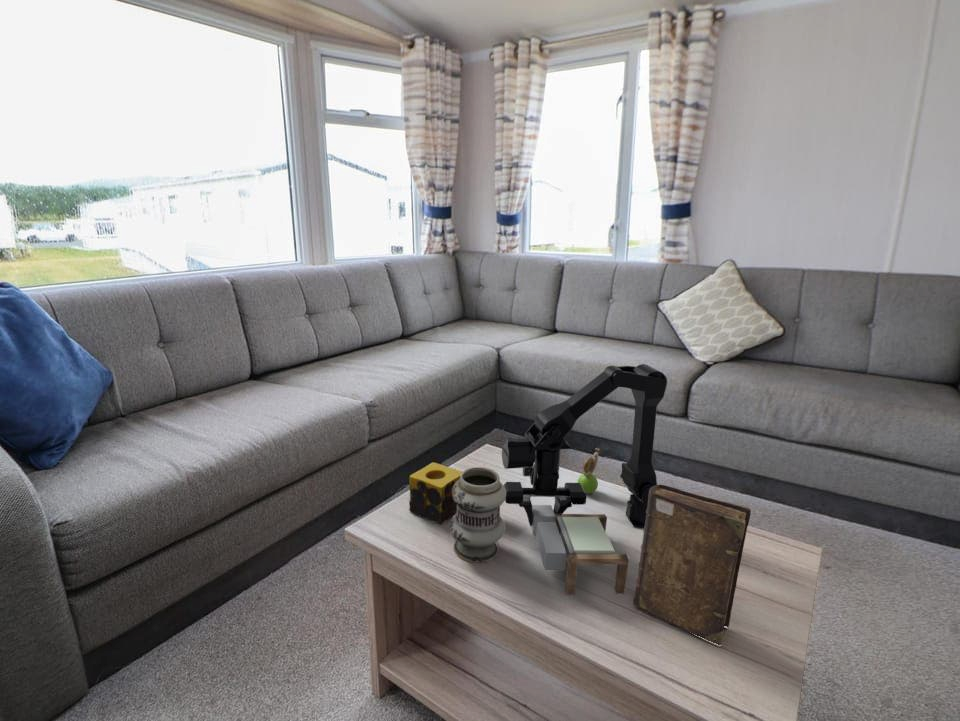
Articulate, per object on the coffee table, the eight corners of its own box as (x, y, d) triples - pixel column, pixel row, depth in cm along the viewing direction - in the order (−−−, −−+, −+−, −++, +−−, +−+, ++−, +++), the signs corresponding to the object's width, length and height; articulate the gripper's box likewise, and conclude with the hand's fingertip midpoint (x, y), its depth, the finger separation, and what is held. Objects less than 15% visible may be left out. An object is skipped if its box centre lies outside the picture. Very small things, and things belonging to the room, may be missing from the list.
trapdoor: (595, 536, 117) (597, 516, 115) (612, 572, 105) (614, 551, 103) (535, 536, 116) (537, 516, 114) (545, 572, 104) (547, 550, 103)
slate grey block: (549, 523, 128) (551, 505, 126) (553, 535, 123) (555, 516, 121) (529, 523, 127) (530, 504, 126) (532, 535, 122) (534, 516, 121)
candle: (465, 508, 132) (466, 472, 130) (441, 526, 124) (442, 488, 122) (433, 495, 138) (433, 460, 135) (408, 512, 129) (408, 475, 127)
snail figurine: (602, 491, 144) (607, 451, 141) (590, 499, 139) (594, 458, 136) (585, 484, 147) (589, 445, 144) (572, 492, 143) (577, 451, 140)
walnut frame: (601, 545, 120) (605, 514, 117) (623, 593, 104) (628, 559, 102) (551, 545, 119) (554, 513, 117) (566, 593, 103) (570, 558, 101)
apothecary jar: (451, 567, 109) (454, 490, 105) (446, 534, 121) (448, 463, 116) (508, 564, 111) (513, 488, 107) (497, 531, 123) (502, 461, 118)
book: (628, 605, 101) (645, 489, 94) (643, 587, 106) (660, 475, 100) (719, 652, 91) (745, 525, 84) (730, 629, 96) (755, 508, 90)
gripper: (578, 450, 129) (572, 507, 133) (503, 449, 128) (499, 506, 132) (590, 472, 118) (583, 532, 122) (508, 470, 117) (504, 532, 121)
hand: (541, 524), depth 125 cm, fingers open, 5 cm apart
